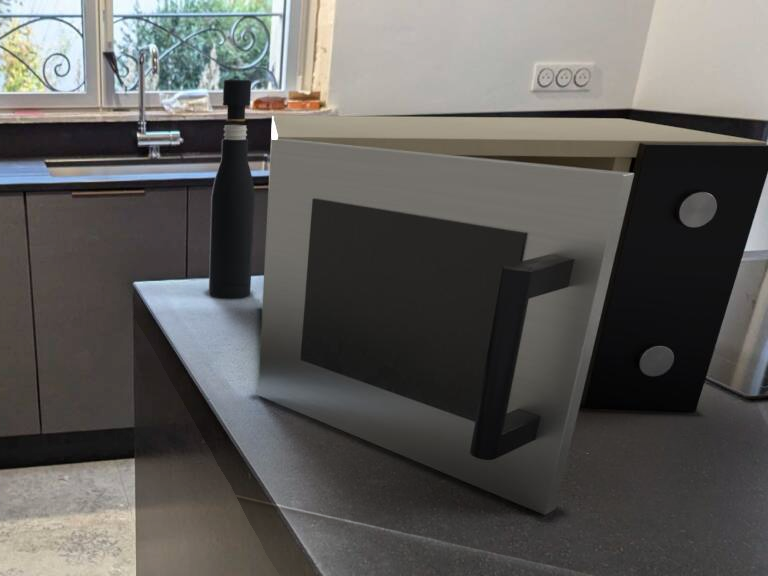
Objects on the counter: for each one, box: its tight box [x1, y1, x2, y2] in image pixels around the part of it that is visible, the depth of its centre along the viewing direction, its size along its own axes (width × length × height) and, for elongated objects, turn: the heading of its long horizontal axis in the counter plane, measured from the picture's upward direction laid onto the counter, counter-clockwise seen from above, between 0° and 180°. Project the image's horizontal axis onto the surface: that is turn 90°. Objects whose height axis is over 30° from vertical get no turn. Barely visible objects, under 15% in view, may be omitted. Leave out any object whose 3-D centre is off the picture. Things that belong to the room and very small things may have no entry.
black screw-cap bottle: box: [208, 79, 256, 299], centre depth 121 cm, size 6×6×30 cm
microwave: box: [261, 115, 768, 413], centre depth 96 cm, size 35×44×26 cm
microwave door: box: [257, 139, 634, 516], centre depth 69 cm, size 8×33×26 cm, turn 38°
